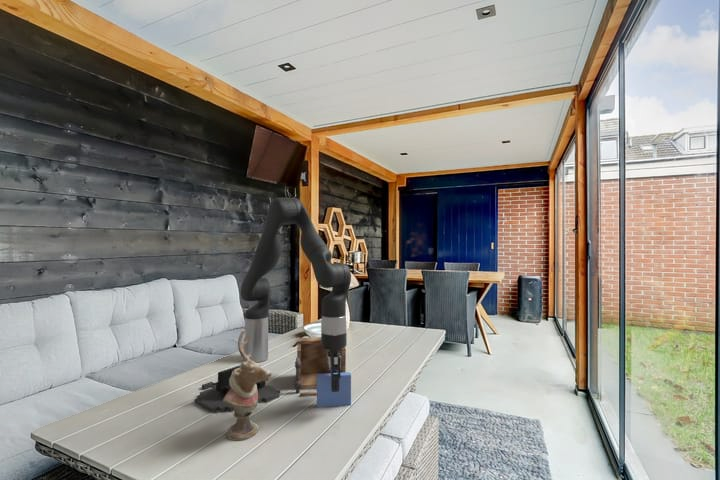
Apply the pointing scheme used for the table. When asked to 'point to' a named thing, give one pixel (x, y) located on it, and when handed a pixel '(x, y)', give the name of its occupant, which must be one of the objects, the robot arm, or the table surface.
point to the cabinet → (312, 364)
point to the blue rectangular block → (333, 398)
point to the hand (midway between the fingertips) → (334, 385)
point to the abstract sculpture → (218, 391)
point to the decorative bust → (244, 393)
